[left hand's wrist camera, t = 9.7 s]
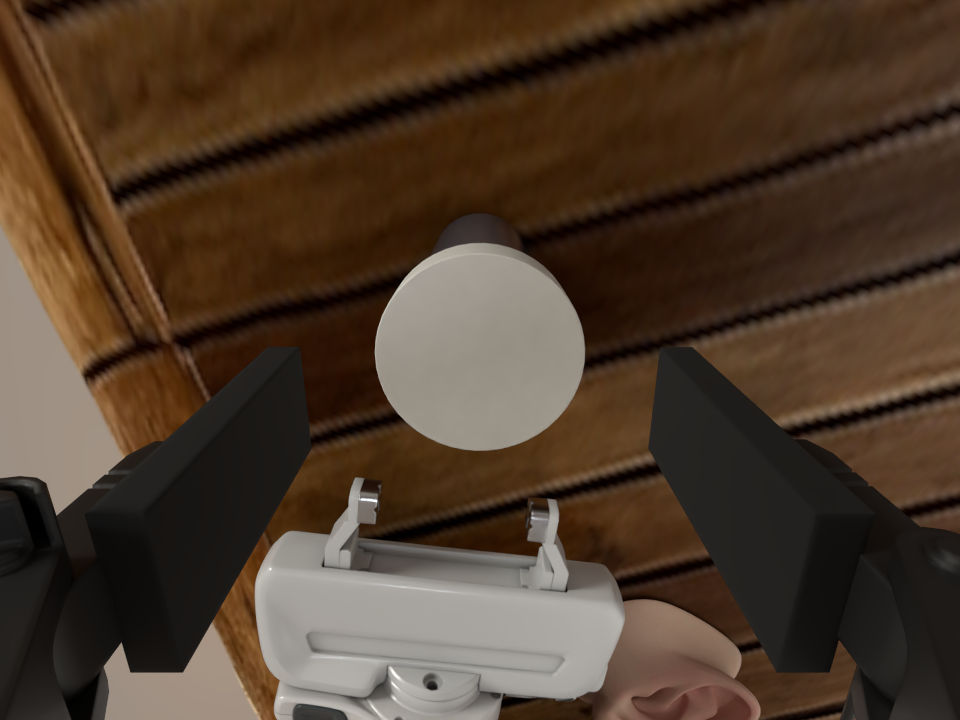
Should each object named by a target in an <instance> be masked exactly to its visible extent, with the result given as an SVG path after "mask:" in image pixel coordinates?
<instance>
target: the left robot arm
mask: <svg viewBox="0 0 960 720" xmlns="http://www.w3.org/2000/svg"><path fill="white" fill-rule="evenodd" d="M311 448H312V447H311V439H310V430H309V422H308V413H307V405H306V396H305V388H304V380H303V371H302V363H301V354H300V347H268V348H267V349H265V350H264V351H263V352H262V353H261V354H260V355H259V356H258V357H257V358H255V359H254V360H253V361H252V362H251V363H250V364H249V365H248V366H247V367H246V368H244V369H243V370H242V371H241V372H240V373H239V374H238V375H237V376H236V377H235V378H233V379H232V380H231V381H230V382H229V383H228V384H227V385H226V386H225V387H224V388H222V389H221V390H220V391H219V392H218V393H217V394H216V395H215V396H214V397H212V398H211V399H210V400H209V401H208V402H207V403H206V404H205V405H204V406H203V407H201V408H200V409H199V410H198V411H197V412H196V413H195V414H194V415H193V416H192V417H190V418H189V419H188V420H187V421H186V422H185V423H184V424H183V425H182V426H180V427H179V428H178V429H177V430H176V431H175V432H174V433H173V434H172V435H171V436H169V437H168V438H167V439H166V440H165V441H155V442H153V443H151V444H149V445H147V446H145V447H143V448H141V449H139V450H137V451H135V452H133V453H131V454H129V455H127V456H126V457H125V458H124V459H123V460H122V461H120V462H119V463H118V464H117V465H116V466H114V467H113V468H112V469H111V470H110V471H109V474H108V475H104V476H103V477H102V478H100V479H99V480H98V481H97V482H96V483H95V484H93V488H92V489H87V490H86V491H85V492H84V493H83V494H82V495H80V496H79V497H78V498H77V499H76V500H75V501H73V502H72V503H71V504H70V505H69V506H68V507H66V508H65V509H64V510H63V511H62V512H60V513H59V514H58V515H57V516H56V513H55V510H54V507H53V504H52V500H51V497H50V494H49V491H48V488H47V484H46V483H45V482H43V481H41V480H40V479H38V478H34V477H23V476H17V477H8V478H0V720H104V718H105V712H106V706H107V700H108V694H109V688H108V680H107V676H106V673H105V670H104V667H103V666H104V665H105V664H106V662H107V661H108V660H109V658H110V657H111V656H112V654H113V653H114V652H115V650H116V649H117V647H118V646H119V645H120V643H121V642H122V645H123V648H124V652H125V655H126V659H127V662H128V665H129V669H130V672H183V671H184V670H185V668H186V666H187V664H188V663H189V661H190V659H191V657H192V656H193V654H194V652H195V650H196V649H197V647H198V645H199V644H200V642H201V640H202V638H203V637H204V635H205V633H206V631H207V630H208V628H209V626H210V624H211V623H212V621H213V619H214V617H215V616H216V614H217V612H218V610H219V609H220V607H221V605H222V603H223V602H224V600H225V598H226V597H227V595H228V593H229V591H230V590H231V588H232V586H233V584H234V583H235V581H236V579H237V577H238V576H239V574H240V572H241V570H242V569H243V567H244V565H245V563H246V562H247V560H248V558H249V556H250V555H251V553H252V551H253V549H254V548H255V546H256V544H257V543H258V541H259V539H260V537H261V536H262V534H263V532H264V530H265V529H266V527H267V525H268V523H269V522H270V520H271V518H272V516H273V515H274V513H275V511H276V509H277V508H278V506H279V504H280V502H281V501H282V499H283V497H284V496H285V494H286V492H287V490H288V489H289V487H290V485H291V483H292V482H293V480H294V478H295V476H296V475H297V473H298V471H299V469H300V468H301V466H302V464H303V462H304V461H305V459H306V457H307V455H308V454H309V452H310V450H311ZM648 448H649V450H650V452H651V454H652V455H653V457H654V459H655V461H656V462H657V464H658V466H659V468H660V469H661V471H662V473H663V475H664V476H665V478H666V480H667V482H668V483H669V485H670V487H671V489H672V490H673V492H674V494H675V496H676V497H677V499H678V501H679V502H680V504H681V506H682V508H683V509H684V511H685V513H686V515H687V516H688V518H689V520H690V522H691V523H692V525H693V527H694V529H695V530H696V532H697V534H698V536H699V537H700V539H701V541H702V543H703V544H704V546H705V548H706V550H707V551H708V553H709V555H710V556H711V558H712V560H713V562H714V563H715V565H716V567H717V569H718V570H719V572H720V574H721V576H722V577H723V579H724V581H725V583H726V584H727V586H728V588H729V590H730V591H731V593H732V595H733V597H734V598H735V600H736V602H737V603H738V605H739V607H740V609H741V610H742V612H743V614H744V616H745V617H746V619H747V621H748V623H749V624H750V626H751V628H752V630H753V631H754V633H755V635H756V637H757V638H758V640H759V642H760V644H761V645H762V647H763V649H764V651H765V652H766V654H767V656H768V657H769V659H770V661H771V663H772V664H773V666H774V668H775V670H776V671H777V672H830V669H831V665H832V662H833V659H834V655H835V652H836V648H837V645H838V641H839V640H840V642H841V643H842V644H843V646H844V647H845V648H846V650H847V651H848V652H849V654H850V655H851V657H852V658H853V659H854V661H855V662H856V663H857V667H856V670H855V673H854V676H853V680H852V683H851V686H850V689H849V692H848V696H847V699H846V702H845V705H844V708H843V711H842V715H841V719H840V720H853V719H855V718H856V720H960V534H957V533H954V532H951V531H947V530H942V529H935V528H927V527H920V526H918V525H917V524H916V523H915V522H914V521H912V520H911V519H910V518H909V517H908V516H907V515H905V514H904V513H903V512H902V511H901V510H899V509H898V508H897V507H896V506H895V505H893V504H892V503H891V502H890V501H889V500H888V499H886V498H885V497H884V496H883V495H882V494H880V493H879V492H878V491H877V490H876V489H875V488H873V487H872V486H868V483H867V482H866V481H865V480H864V479H863V478H862V477H860V476H859V475H858V474H857V473H852V469H851V468H850V467H849V466H847V465H846V464H845V463H844V462H843V461H841V460H840V459H839V458H838V457H837V456H836V455H834V454H833V453H831V452H829V451H827V450H825V449H823V448H821V447H820V446H818V445H816V444H814V443H812V442H810V441H808V440H806V439H793V438H792V437H791V436H789V435H788V434H787V433H786V432H785V431H784V430H783V429H782V428H781V427H780V426H778V425H777V424H776V423H775V422H774V421H773V420H772V419H771V418H770V417H768V416H767V415H766V414H765V413H764V412H763V411H762V410H761V409H760V408H759V407H757V406H756V405H755V404H754V403H753V402H752V401H751V400H750V399H749V398H748V397H746V396H745V395H744V394H743V393H742V392H741V391H740V390H739V389H738V388H736V387H735V386H734V385H733V384H732V383H731V382H730V381H729V380H728V379H727V378H725V377H724V376H723V375H722V374H721V373H720V372H719V371H718V370H717V369H716V368H714V367H713V366H712V365H711V364H710V363H709V362H708V361H707V360H706V359H704V358H703V357H702V356H701V355H700V354H699V353H698V352H697V351H696V350H695V349H693V348H692V347H660V354H659V363H658V371H657V380H656V388H655V396H654V405H653V413H652V422H651V430H650V439H649V447H648Z"/></svg>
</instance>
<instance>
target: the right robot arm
mask: <svg viewBox="0 0 960 720" xmlns="http://www.w3.org/2000/svg"><path fill="white" fill-rule="evenodd" d="M382 487H383V481H382V480H375V479H367V478H365V479H364V478H357V477H356V478H355V480H354V482H353V485H352V488H351V491H350V496H349V507H348V508H347V509H346V511H345V512H344V513H343V514H342V515H341V517H340V518H339V519H338V520H337V521H336V523H335V524H334V527H333V529H332V532H331V534H330V535H328V534H318V533H309V532H301V531H289V532H287V533H285V534H284V535H283V536H282V537H281V538H279V539H278V540H277V541H276V542H275V543H274V544H273V546H272V547H271V549H270V550H269V552H268V554H267V555H266V557H265V559H264V561H263V563H262V565H261V567H260V570H259V572H258V575H257V578H256V583H255V608H256V619H257V627H258V634H259V640H260V645H261V650H262V654H263V658H264V660H265V663H266V665H267V667H268V668H269V670H270V671H271V672H272V674H273V675H274V676H275V677H276V678H278V679H279V680H280V682H279V686H278V690H277V695H276V699H275V704H274V713H275V716H276V718H277V719H278V720H498V717H499V713H500V708H501V701H502V697H504V696H508V697H519V698H542V697H543V698H549V699H554V700H555V701H561V702H570V701H575V700H576V697H579V696H582V695H585V694H588V693H591V692H596V691H598V690H599V689H600V688H601V687H602V685H603V682H604V679H605V675H606V672H607V668H608V662H609V660H610V658H611V656H612V654H613V652H614V649H615V647H616V645H617V642H618V640H619V637H620V635H621V632H622V629H623V626H624V622H625V610H624V604H623V600H622V597H621V593H620V590H619V588H618V585H617V583H616V581H615V579H614V577H613V576H612V574H611V573H610V571H609V570H608V569H607V567H606V566H604V565H602V564H598V563H590V562H580V561H571V560H566V558H565V553H564V548H563V546H562V544H561V541H560V539H559V537H558V535H557V533H556V532H557V527H558V522H559V510H558V506H557V501H556V500H554V499H543V498H534V497H529V500H528V509H527V510H526V516H525V528H527V531H526V536H527V541H533V542H540V543H542V545H543V546H541V547H540V548H539V552H538V557H533V556H524V555H515V554H505V553H496V552H486V551H477V550H468V549H458V548H449V547H440V546H430V545H421V544H412V543H402V542H393V541H384V540H374V539H365V538H359V528H358V525H359V524H360V523H365V524H376V521H377V517H378V512H379V510H380V507H381V500H382V494H381V491H382Z"/></svg>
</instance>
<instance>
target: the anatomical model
mask: <svg viewBox="0 0 960 720" xmlns="http://www.w3.org/2000/svg"><path fill="white" fill-rule="evenodd" d="M623 604H624V610H625V622H624V626H623V629H622V632H621V635H620V637H619V640H618V642H617V645H616V647H615V649H614V652H613V654H612V656H611V658H610V660H609V662H608V668H607V672H606V675H605V679H604V682H603V685H602V687H601V688H600V689H599V690H598V691H596V692H591V693H588V694H585V695H582V696H579V697H578V698H579V699H581V700H583V701H585V702H587V703H591V704H593V720H758V718H759V717H760V706H759V703H758V701H757V699H756V698H755V696H754V695H753V694H752V693H751V692H750V691H749V690H748V689H747V688H746V687H745V686H744V685H742V684H741V683H740V682H739V681H737V680H735V679H734V678H735V677H736V675H737V673H738V671H739V669H740V666H741V654H740V652H739V650H738V648H737V647H736V646H735V645H734V644H733V643H732V642H731V641H730V640H729V639H728V638H727V637H726V636H724V635H723V634H722V633H720V632H719V631H717V630H716V629H715V628H713V627H712V626H710V625H709V624H707V623H705V622H704V621H702V620H700V619H698V618H697V617H695V616H693V615H692V614H690V613H688V612H686V611H684V610H682V609H680V608H677V607H675V606H673V605H670V604H667V603H664V602H661V601H656V600H648V599H638V600H630V601H624V602H623Z"/></svg>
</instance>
